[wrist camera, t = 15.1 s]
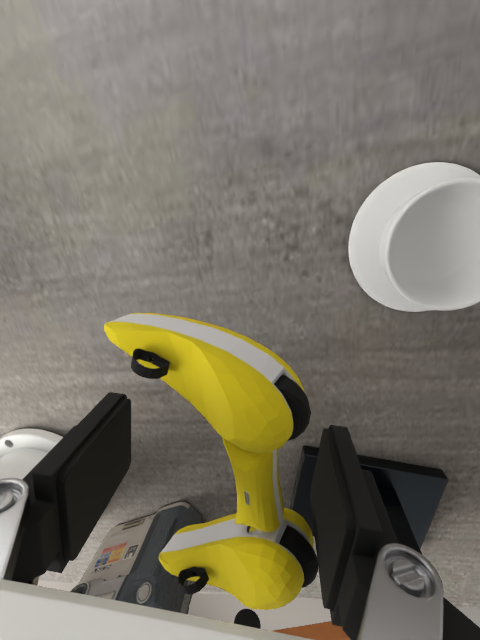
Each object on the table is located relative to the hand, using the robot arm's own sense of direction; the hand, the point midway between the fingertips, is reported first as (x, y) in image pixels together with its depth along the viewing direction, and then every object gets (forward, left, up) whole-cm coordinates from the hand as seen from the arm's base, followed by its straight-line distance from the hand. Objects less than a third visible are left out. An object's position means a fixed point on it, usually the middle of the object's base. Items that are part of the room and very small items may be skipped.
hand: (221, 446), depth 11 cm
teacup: (+11, +7, -16) cm, 20 cm away
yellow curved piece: (0, 0, -1) cm, 1 cm away
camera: (-7, -25, -16) cm, 30 cm away
